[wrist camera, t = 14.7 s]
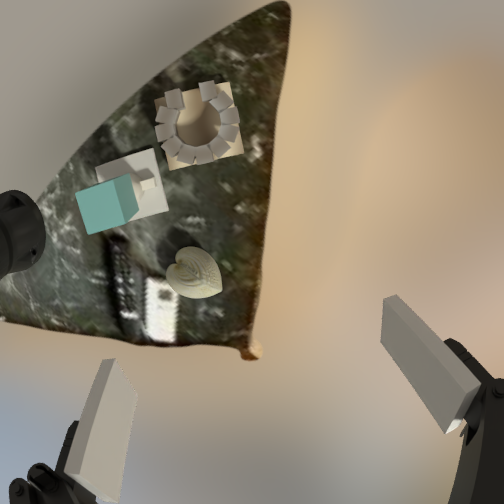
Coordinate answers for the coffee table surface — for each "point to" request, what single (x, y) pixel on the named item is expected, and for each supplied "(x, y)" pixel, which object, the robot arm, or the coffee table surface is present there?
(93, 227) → the plug
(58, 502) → the robot arm
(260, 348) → the coffee table surface
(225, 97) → the socket
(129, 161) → the mat
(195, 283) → the seashell
